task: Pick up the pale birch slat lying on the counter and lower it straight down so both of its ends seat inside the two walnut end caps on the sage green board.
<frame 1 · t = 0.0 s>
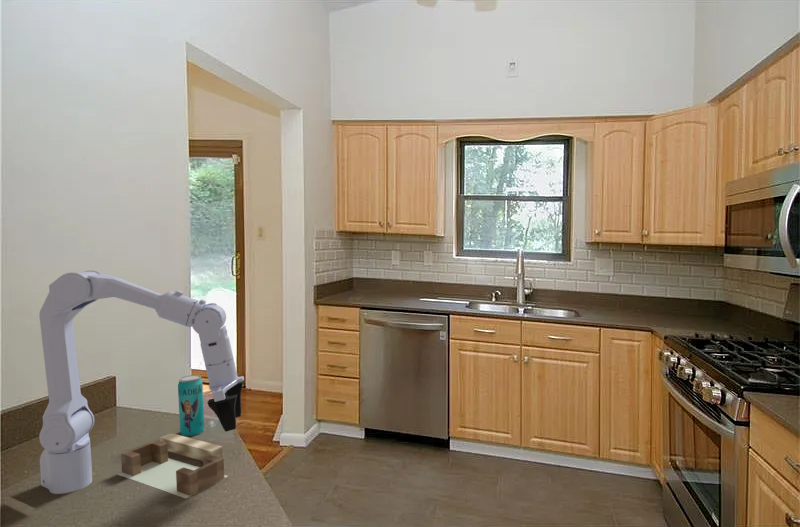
hand: (233, 423, 105), 11 cm above the table, tool pointing down, fingers open, 7 cm apart
beverage can: (192, 436, 127), on the table
base board: (172, 479, 103), on the table
right end cap: (201, 484, 99), resting on base board
slat: (190, 458, 114), on the table
left end cap: (145, 466, 108), resting on base board
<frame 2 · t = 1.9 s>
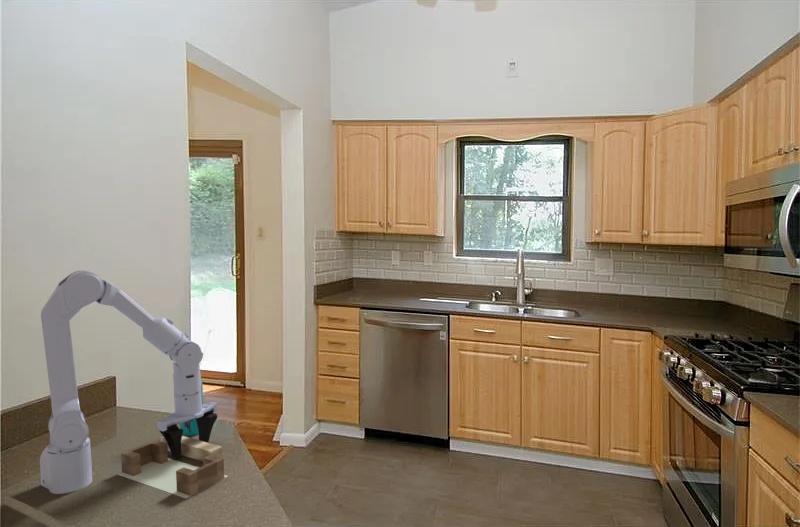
hand: (190, 451, 114), 1 cm above the table, tool pointing down, fingers open, 7 cm apart
nothing on the table moved.
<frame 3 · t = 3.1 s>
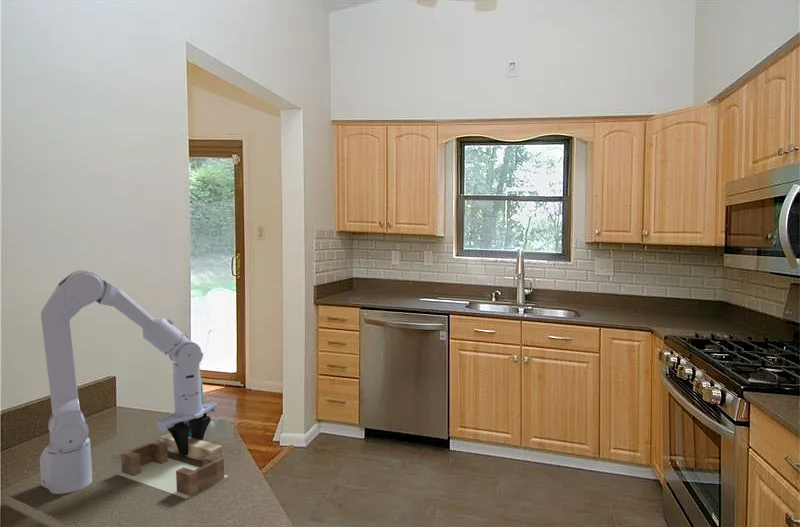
hand: (190, 451, 114), 1 cm above the table, tool pointing down, fingers closed on slat, 3 cm apart
slat: (190, 458, 114), on the table, touching gripper
everything else where it was.
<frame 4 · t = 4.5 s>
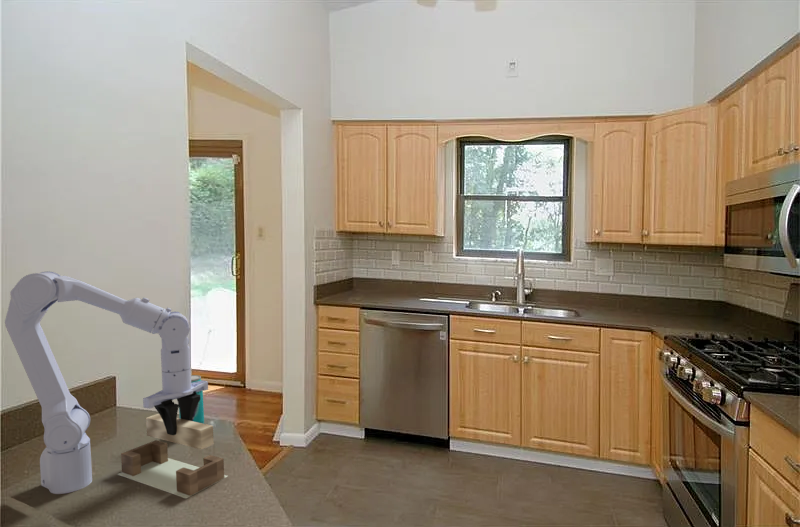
hand: (179, 431, 108), 8 cm above the table, tool pointing down, fingers closed on slat, 3 cm apart
slat: (179, 439, 108), point 6 cm above the table, touching gripper
everything else where it was.
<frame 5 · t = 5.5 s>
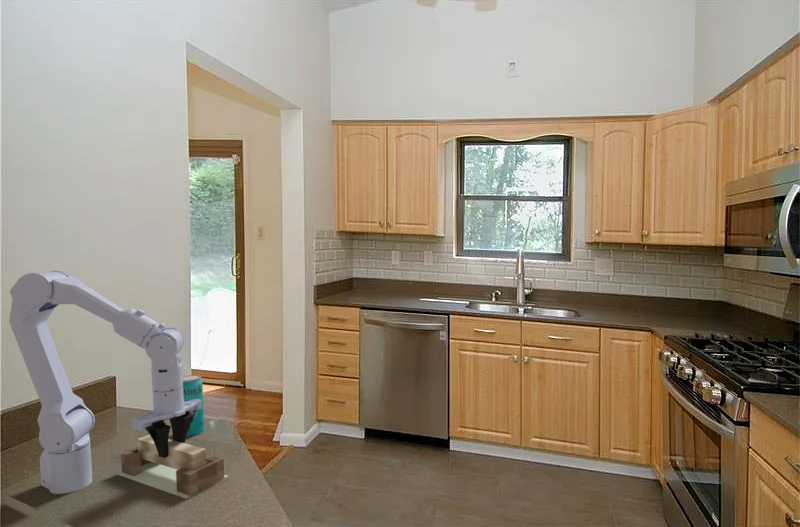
hand: (171, 453, 103), 6 cm above the table, tool pointing down, fingers closed on slat, 3 cm apart
slat: (171, 462, 103), point 4 cm above the table, touching gripper
everything else where it was.
when the fingers open (3 cm above the table, at t = 6.3 s): slat stays where it is, resting on base board.
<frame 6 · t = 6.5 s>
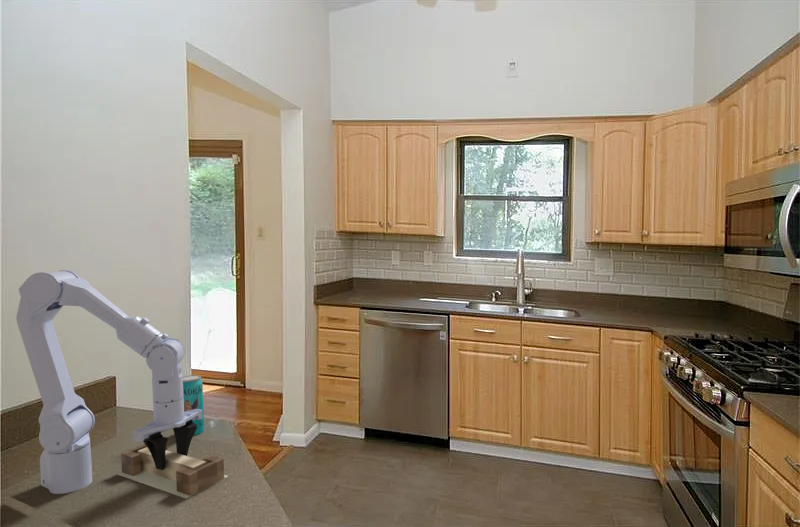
hand: (171, 463, 103), 3 cm above the table, tool pointing down, fingers open, 4 cm apart
slat: (171, 475, 103), point 1 cm above the table, touching base board
everything else where it was.
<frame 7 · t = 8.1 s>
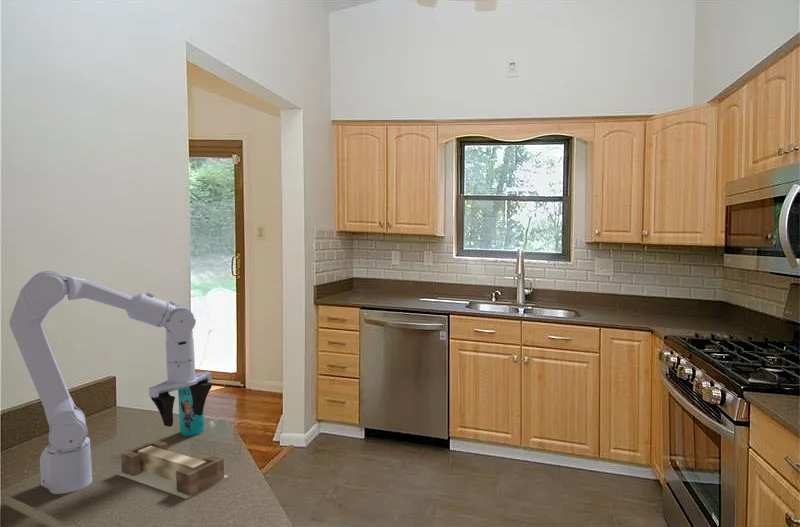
hand: (183, 419, 112), 9 cm above the table, tool pointing down, fingers open, 7 cm apart
nothing on the table moved.
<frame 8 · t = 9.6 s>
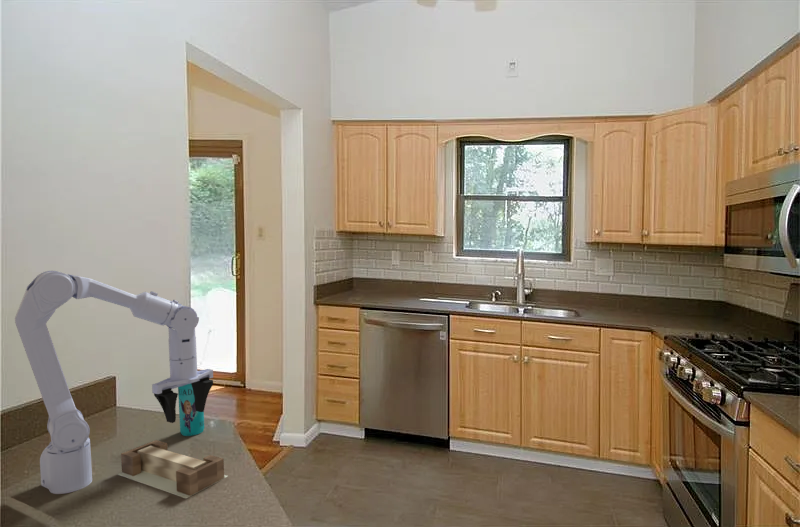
hand: (185, 416, 114), 9 cm above the table, tool pointing down, fingers open, 7 cm apart
nothing on the table moved.
at the end: slat 0.1 cm off-centre on the base board, point 1.0 cm above the base board's base; slat tilted 0°; the gripper is holding nothing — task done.
